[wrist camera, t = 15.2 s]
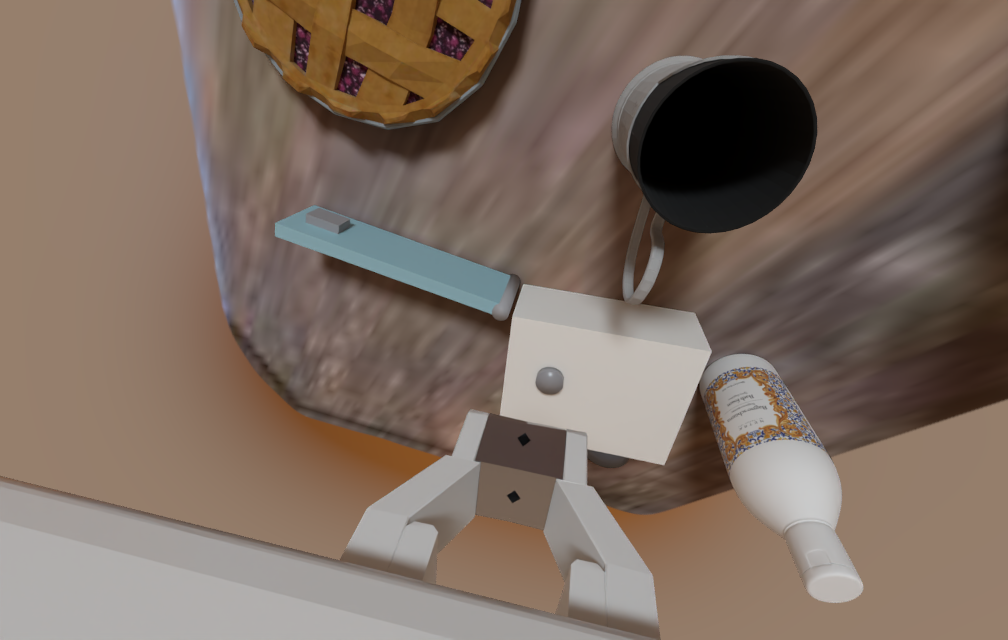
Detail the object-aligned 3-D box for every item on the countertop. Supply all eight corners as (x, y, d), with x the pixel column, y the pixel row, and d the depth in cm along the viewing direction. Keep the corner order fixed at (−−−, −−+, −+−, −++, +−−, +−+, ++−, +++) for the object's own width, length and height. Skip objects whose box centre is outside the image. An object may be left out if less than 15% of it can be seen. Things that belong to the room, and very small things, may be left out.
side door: (517, 289, 41) (505, 323, 36) (315, 216, 41) (272, 238, 36) (524, 270, 40) (513, 302, 35) (317, 195, 40) (272, 215, 35)
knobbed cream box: (694, 312, 39) (714, 357, 33) (648, 436, 47) (657, 491, 41) (522, 283, 41) (509, 320, 35) (505, 408, 49) (492, 456, 43)
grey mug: (759, 77, 30) (884, 77, 17) (666, 257, 37) (704, 352, 24) (640, 38, 30) (676, 9, 17) (570, 226, 37) (559, 303, 25)
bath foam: (757, 339, 39) (883, 539, 22) (788, 391, 42) (925, 611, 24) (685, 370, 42) (748, 568, 25) (717, 417, 44) (795, 630, 27)
